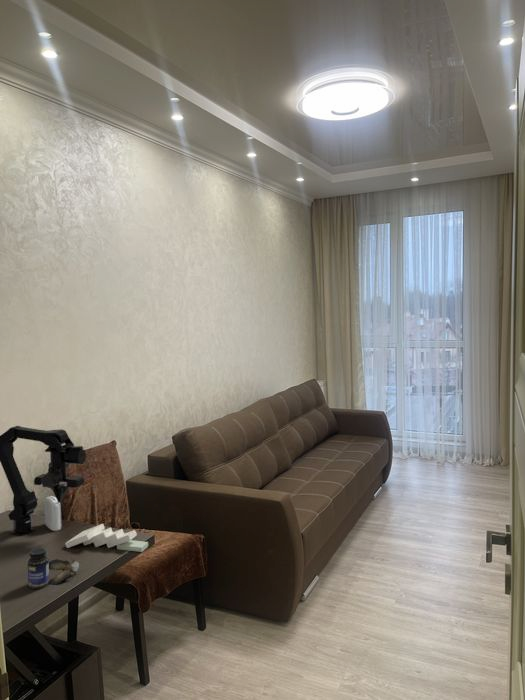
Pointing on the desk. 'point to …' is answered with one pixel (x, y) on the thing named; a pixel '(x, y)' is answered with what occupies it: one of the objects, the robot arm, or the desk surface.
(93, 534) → the domino
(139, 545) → the domino
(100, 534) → the domino
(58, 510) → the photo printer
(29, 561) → the pill bottle
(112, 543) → the domino
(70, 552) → the desk surface
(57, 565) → the eagle figurine
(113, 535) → the domino
